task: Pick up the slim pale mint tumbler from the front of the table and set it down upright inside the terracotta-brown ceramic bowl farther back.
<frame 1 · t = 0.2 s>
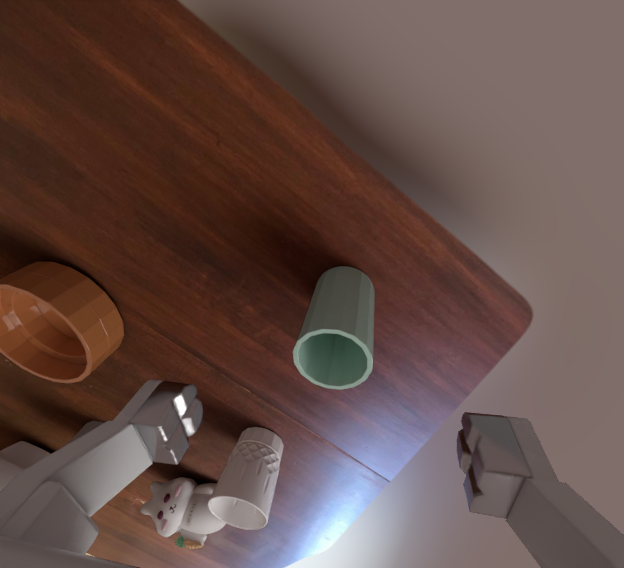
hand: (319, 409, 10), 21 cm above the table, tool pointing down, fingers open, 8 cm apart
bowl: (46, 456, 66), on the table
cat figurine: (199, 482, 59), on the table
tumbler: (344, 292, 32), on the table
white cup: (262, 439, 48), on the table
brown bowl: (76, 308, 41), on the table
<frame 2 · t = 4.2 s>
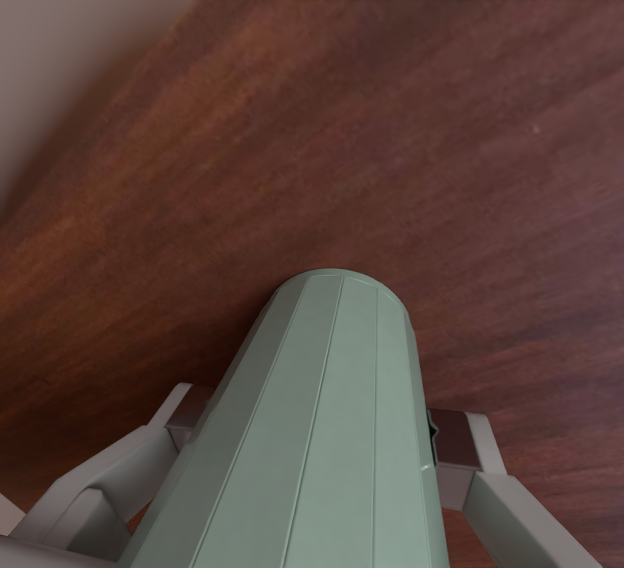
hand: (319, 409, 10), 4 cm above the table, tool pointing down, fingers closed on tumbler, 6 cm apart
tumbler: (335, 334, 13), on the table, touching gripper
when the fingers open (4 cm above the table, at t = 13.7 s): tumbler stays where it is, resting on brown bowl.
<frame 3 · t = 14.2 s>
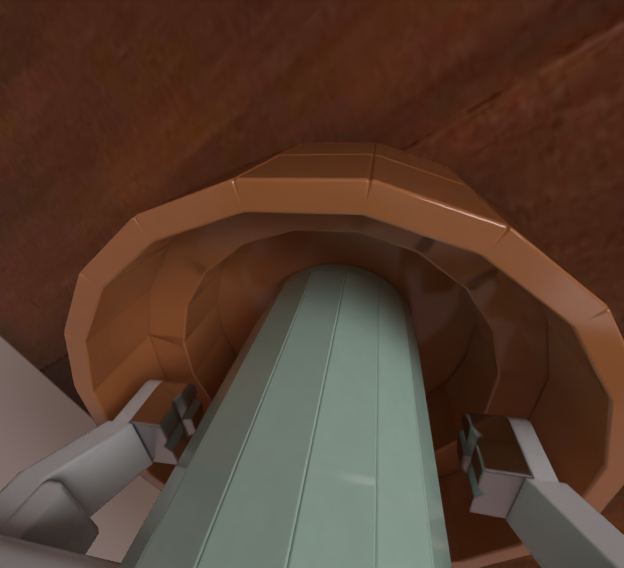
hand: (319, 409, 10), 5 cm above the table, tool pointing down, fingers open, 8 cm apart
tumbler: (337, 328, 13), point 1 cm above the table, touching brown bowl
brown bowl: (338, 319, 14), on the table
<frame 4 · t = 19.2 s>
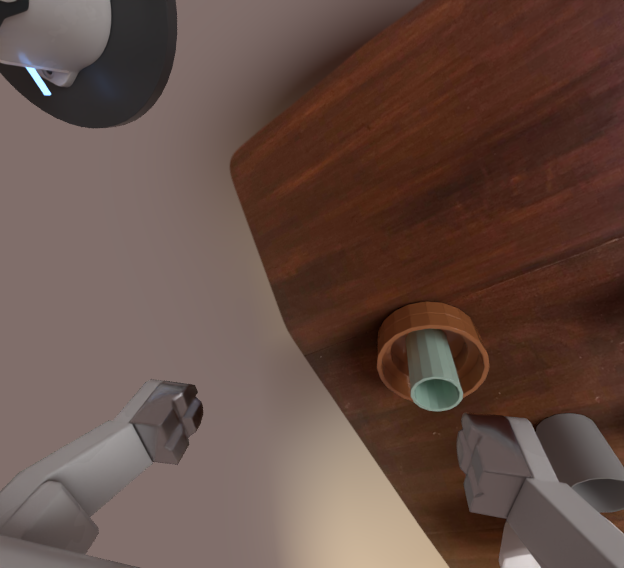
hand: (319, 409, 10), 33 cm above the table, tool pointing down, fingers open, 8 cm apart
cup: (564, 429, 51), on the table
bowl: (547, 505, 62), on the table
tumbler: (426, 341, 47), point 1 cm above the table, touching brown bowl
brown bowl: (425, 339, 47), on the table
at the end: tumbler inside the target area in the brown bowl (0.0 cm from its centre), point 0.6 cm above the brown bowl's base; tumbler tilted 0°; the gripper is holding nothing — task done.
